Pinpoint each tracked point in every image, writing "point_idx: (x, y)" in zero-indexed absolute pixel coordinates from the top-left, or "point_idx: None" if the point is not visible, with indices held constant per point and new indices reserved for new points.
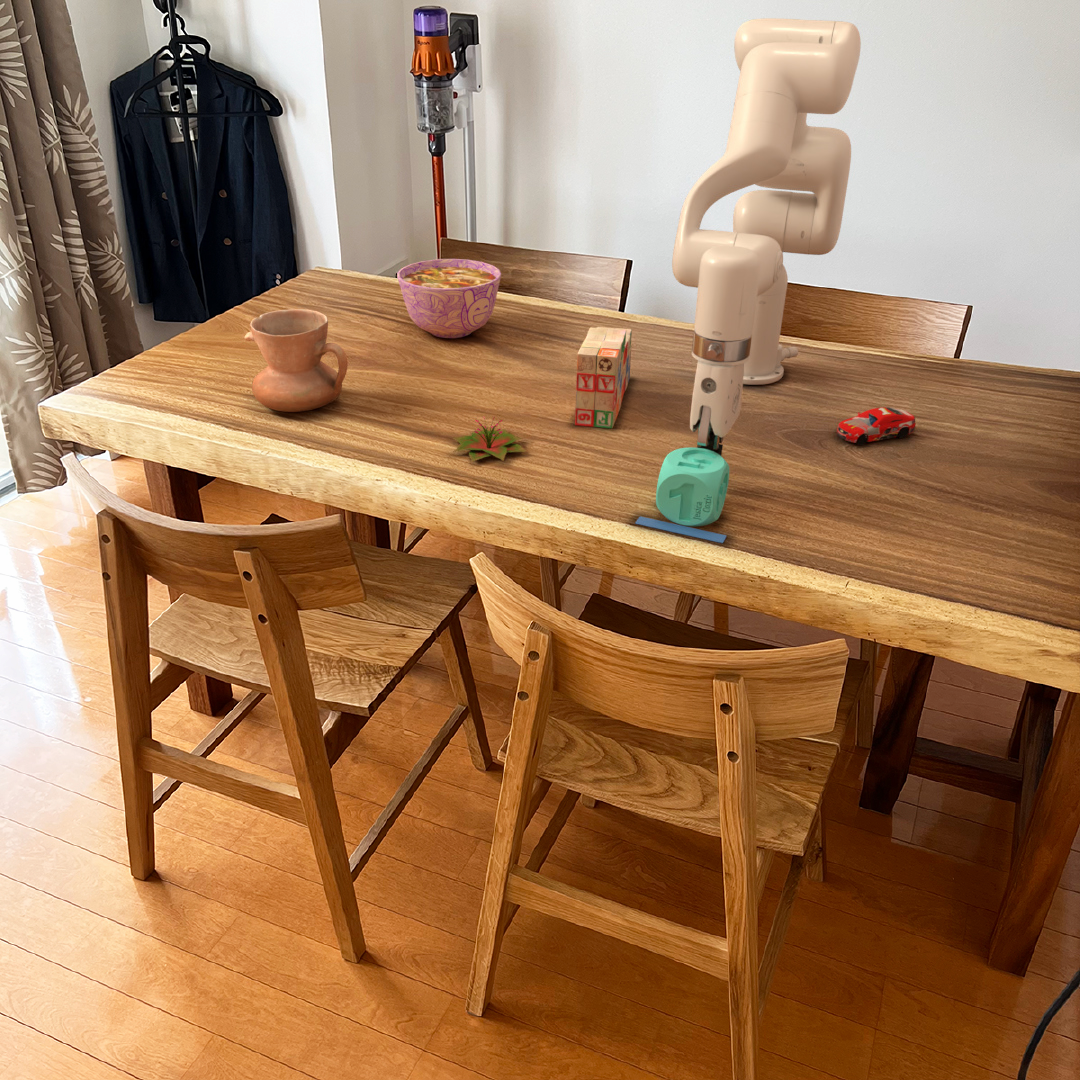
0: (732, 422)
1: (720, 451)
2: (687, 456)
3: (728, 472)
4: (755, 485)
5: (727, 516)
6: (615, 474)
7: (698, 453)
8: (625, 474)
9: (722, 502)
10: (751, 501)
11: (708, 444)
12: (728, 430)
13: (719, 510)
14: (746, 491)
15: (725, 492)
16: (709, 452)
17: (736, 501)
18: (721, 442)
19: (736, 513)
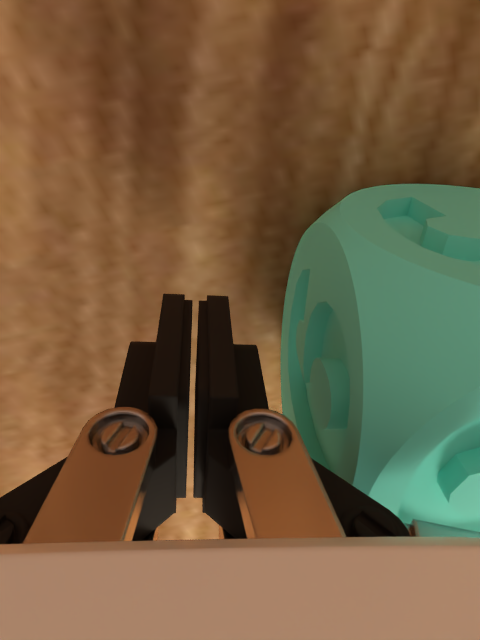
0: (266, 625)
1: (176, 369)
2: (439, 522)
3: (418, 253)
4: (16, 54)
5: (404, 147)
6: (201, 529)
7: (454, 505)
8: (189, 513)
9: (416, 198)
10: (217, 46)
11: (419, 521)
12: (452, 569)
13: (464, 195)
14: (115, 96)
15: (379, 206)
16: (422, 459)
17: (245, 131)
18: (140, 415)
19: (367, 108)
